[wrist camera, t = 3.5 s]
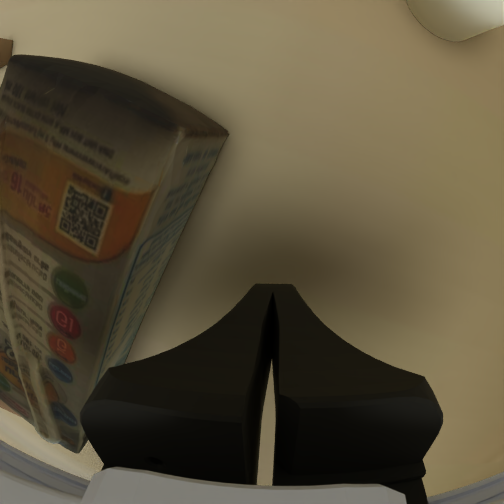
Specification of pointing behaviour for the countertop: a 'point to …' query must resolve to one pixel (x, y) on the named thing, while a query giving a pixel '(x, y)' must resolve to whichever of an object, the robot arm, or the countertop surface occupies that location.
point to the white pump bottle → (458, 17)
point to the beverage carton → (85, 225)
